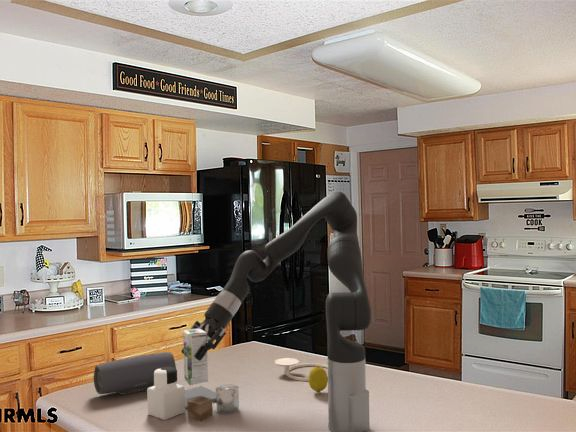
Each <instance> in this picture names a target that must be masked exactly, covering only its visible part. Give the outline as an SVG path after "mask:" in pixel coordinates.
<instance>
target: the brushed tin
mask: <svg viewBox="0 0 576 432" xmlns="http://www.w3.org/2000/svg"><path fill="white" fill-rule="evenodd" d="M215 390H216V391H215V392H216V401H215V403H216V404H215V405H216V413H218V414H221V415H233V414H236V413H238V412H239V411H240V398H239V397H240V395H239V394H240V391H239V386H238V385H236V384H229V383H228V384H221V385H219V386H217V387H216V388H215Z"/></svg>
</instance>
